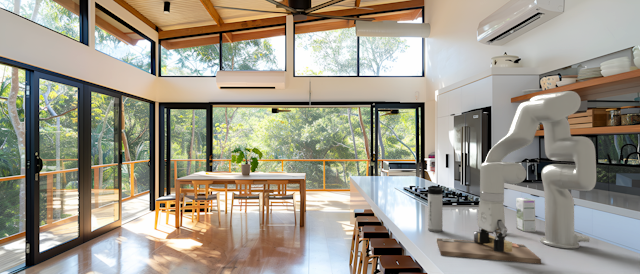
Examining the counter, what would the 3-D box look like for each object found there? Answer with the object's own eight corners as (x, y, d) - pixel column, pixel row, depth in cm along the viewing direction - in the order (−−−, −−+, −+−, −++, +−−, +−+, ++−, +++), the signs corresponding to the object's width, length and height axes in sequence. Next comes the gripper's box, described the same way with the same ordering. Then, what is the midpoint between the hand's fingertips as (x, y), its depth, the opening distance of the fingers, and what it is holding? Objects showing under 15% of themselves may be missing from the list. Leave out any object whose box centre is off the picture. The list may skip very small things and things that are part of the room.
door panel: (523, 248, 126) (523, 243, 126) (540, 263, 109) (540, 258, 110) (436, 241, 134) (436, 237, 134) (440, 255, 117) (440, 249, 117)
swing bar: (472, 241, 129) (472, 231, 129) (478, 240, 130) (478, 231, 130) (505, 253, 114) (505, 242, 114) (513, 252, 115) (512, 242, 115)
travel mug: (440, 228, 155) (440, 185, 156) (444, 232, 149) (444, 187, 149) (426, 228, 156) (426, 185, 156) (429, 232, 149) (429, 187, 150)
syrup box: (536, 231, 152) (535, 199, 152) (523, 231, 152) (522, 199, 152) (528, 228, 157) (528, 197, 158) (515, 228, 158) (515, 197, 158)
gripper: (469, 194, 126) (468, 240, 125) (494, 201, 108) (494, 254, 108) (489, 194, 126) (488, 240, 125) (517, 201, 109) (517, 255, 108)
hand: (491, 247), depth 116 cm, fingers open, 9 cm apart
